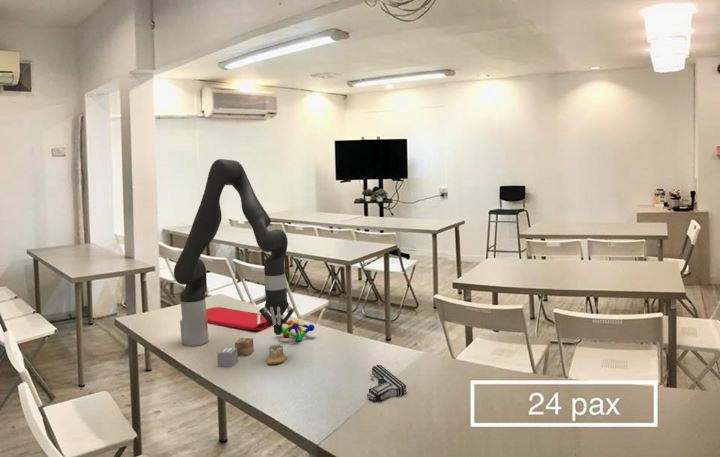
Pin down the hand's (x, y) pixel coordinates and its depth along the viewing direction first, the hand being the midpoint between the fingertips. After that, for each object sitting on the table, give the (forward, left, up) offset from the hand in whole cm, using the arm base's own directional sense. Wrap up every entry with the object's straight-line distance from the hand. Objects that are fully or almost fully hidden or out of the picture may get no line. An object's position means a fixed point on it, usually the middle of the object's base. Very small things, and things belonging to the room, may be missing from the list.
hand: (278, 334), depth 183 cm
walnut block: (-14, +2, -8) cm, 16 cm away
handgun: (+38, -22, -9) cm, 45 cm away
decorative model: (0, +19, -8) cm, 21 cm away
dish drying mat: (-34, +39, -9) cm, 52 cm away
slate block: (-16, -8, -8) cm, 20 cm away
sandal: (-1, -1, -9) cm, 9 cm away
